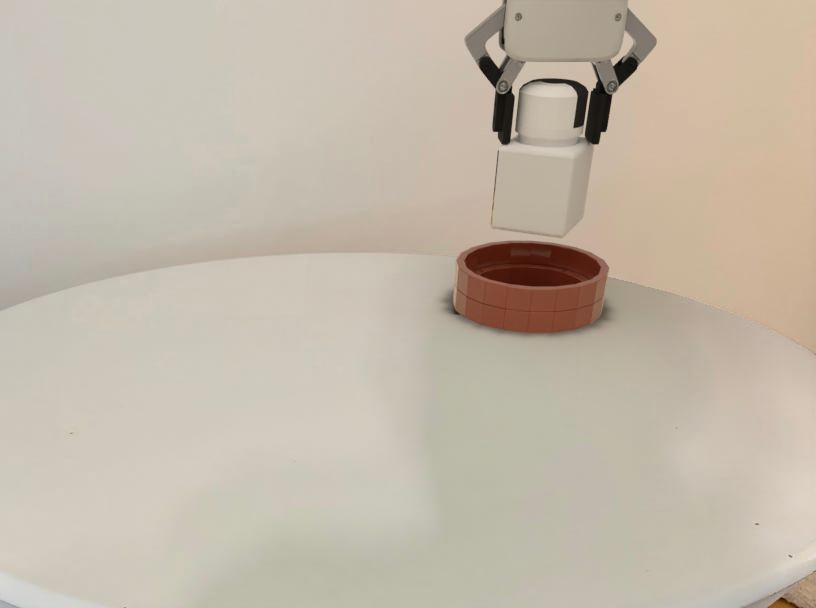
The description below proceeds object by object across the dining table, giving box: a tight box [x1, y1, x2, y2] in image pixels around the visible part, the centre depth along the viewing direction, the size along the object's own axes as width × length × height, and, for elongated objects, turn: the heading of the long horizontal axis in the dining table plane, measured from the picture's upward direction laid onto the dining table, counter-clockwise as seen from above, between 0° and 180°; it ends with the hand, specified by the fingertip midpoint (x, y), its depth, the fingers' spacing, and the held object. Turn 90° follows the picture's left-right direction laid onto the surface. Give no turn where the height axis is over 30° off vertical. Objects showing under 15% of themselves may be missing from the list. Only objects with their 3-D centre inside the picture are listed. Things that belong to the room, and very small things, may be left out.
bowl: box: [452, 240, 610, 334], centre depth 98 cm, size 15×15×5 cm
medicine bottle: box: [490, 77, 595, 239], centre depth 90 cm, size 7×7×12 cm
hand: (547, 139), depth 89 cm, fingers closed on medicine bottle, 7 cm apart
